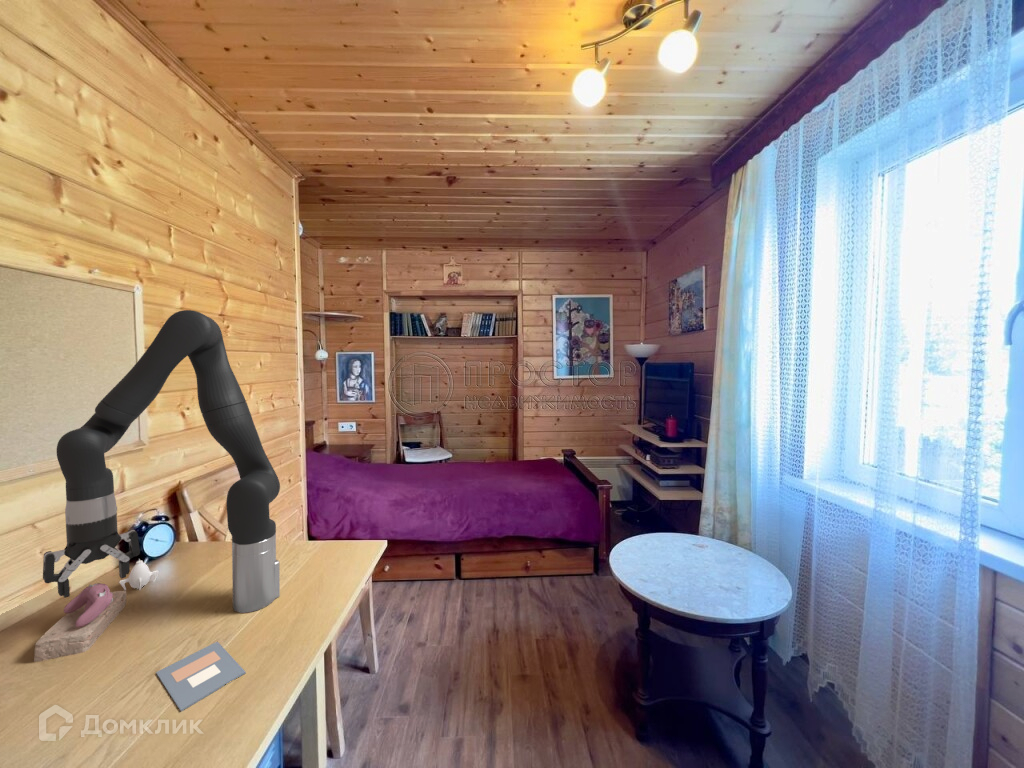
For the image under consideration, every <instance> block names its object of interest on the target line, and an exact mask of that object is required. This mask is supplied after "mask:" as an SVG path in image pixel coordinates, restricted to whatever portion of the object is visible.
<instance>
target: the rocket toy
mask: <svg viewBox="0 0 1024 768" xmlns="http://www.w3.org/2000/svg"><path fill="white" fill-rule="evenodd" d="M159 573H160V570H154V571H151V570H150V568H149V566H148V565H147V564H146V563H145V562H144V561H143V560H141V559H140V558H138V560H137V561H136V562H135V565H134V566H133V567H132V569H131V571H130V572H129V574H128V577H127V578H123V579H122V580H121V579H120V580H119V581H118V582H119V584H120V586H121V587H122V588H123V590H124V591H127V588H126V585H125V584H126V583H129V585H130V587H131V588H132V589H135V588H137V589H136V590H141V589H143V588H144V587H145V586H146V585H147V584H148V583H149V582H150V580H151V577H152V576H154V577H153V581H152V583H153V584H154V583H155V581H156V579H157V577H158V575H159ZM144 585H145V586H144ZM143 586H144V587H143ZM142 587H143V588H142Z"/></svg>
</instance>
